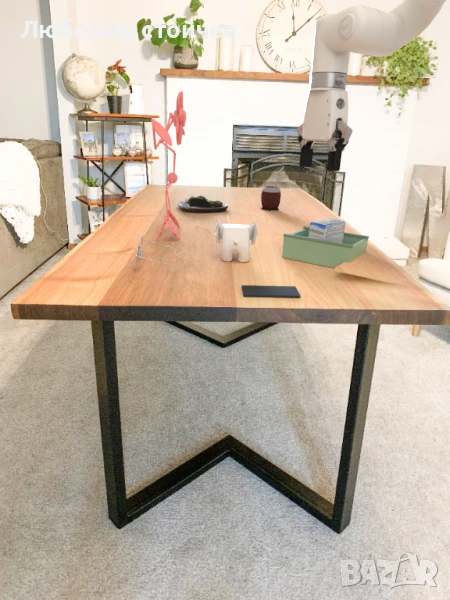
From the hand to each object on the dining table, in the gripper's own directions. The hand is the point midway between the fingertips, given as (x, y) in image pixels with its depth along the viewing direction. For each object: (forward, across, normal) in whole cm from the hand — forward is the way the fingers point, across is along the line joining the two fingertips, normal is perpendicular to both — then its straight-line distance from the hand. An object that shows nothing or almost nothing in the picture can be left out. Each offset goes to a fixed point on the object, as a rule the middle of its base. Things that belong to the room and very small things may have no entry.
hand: (318, 168), depth 99 cm
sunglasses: (+20, +4, +37) cm, 42 cm away
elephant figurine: (+20, +3, +19) cm, 27 cm away
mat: (+20, -20, +24) cm, 37 cm away
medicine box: (+20, -5, 0) cm, 20 cm away
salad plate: (+20, +62, 0) cm, 65 cm away
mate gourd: (+20, +55, -24) cm, 63 cm away
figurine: (+20, +26, +22) cm, 39 cm away
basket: (+20, -5, 0) cm, 20 cm away
